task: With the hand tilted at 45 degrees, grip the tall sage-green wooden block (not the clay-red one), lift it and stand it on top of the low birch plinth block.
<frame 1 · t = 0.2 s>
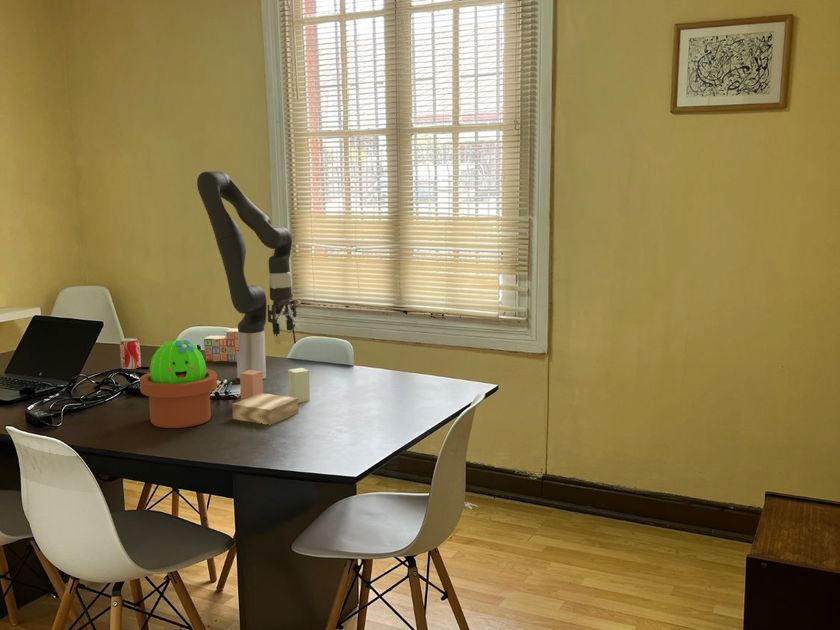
hand: (283, 332, 292), 18 cm above the table, tool pointing down, fingers open, 8 cm apart
sage-green block: (299, 400, 273), on the table
birch plinth block: (266, 417, 256), on the table
stack of blocks: (233, 360, 331), on the table
potted cactus: (181, 420, 252), on the table
soda can: (131, 371, 314), on the table
clay-red block: (252, 402, 270), on the table
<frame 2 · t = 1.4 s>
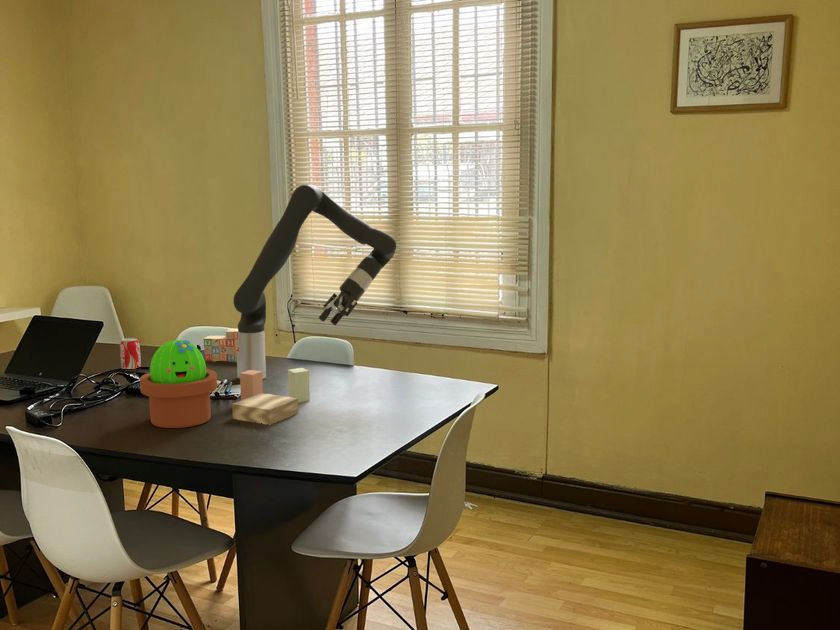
hand: (326, 321, 277), 24 cm above the table, tool tilted 45°, fingers open, 8 cm apart
nothing on the table moved.
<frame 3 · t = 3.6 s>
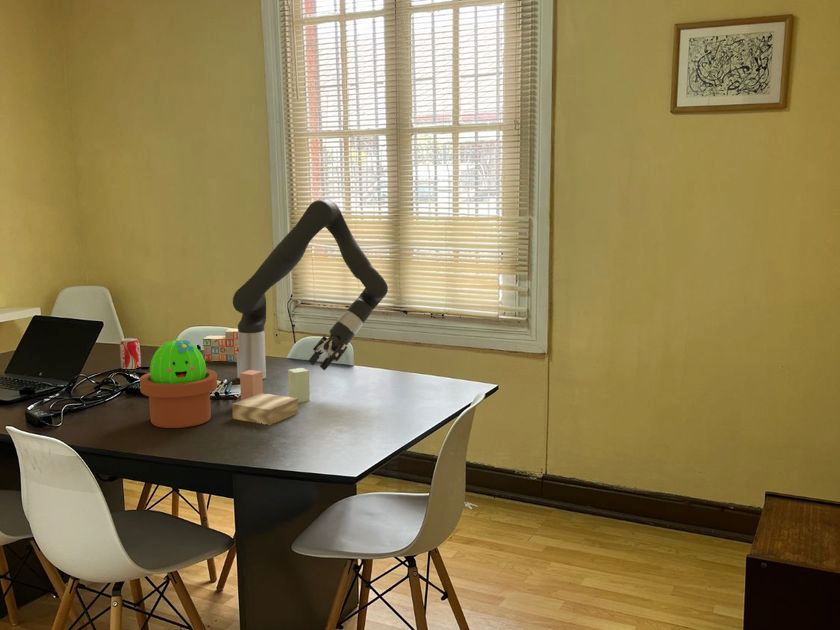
hand: (316, 365, 275), 11 cm above the table, tool tilted 45°, fingers open, 8 cm apart
nothing on the table moved.
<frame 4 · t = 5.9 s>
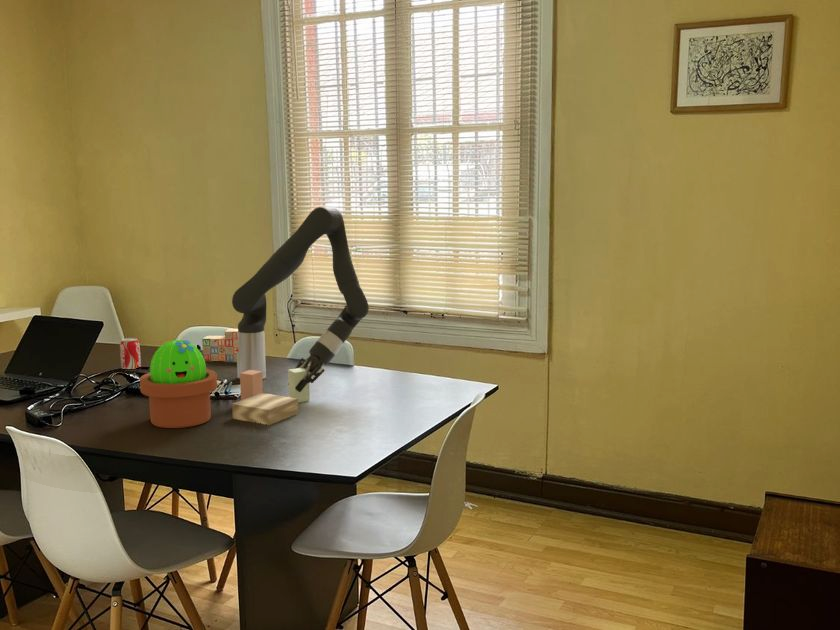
hand: (293, 388, 271), 4 cm above the table, tool tilted 45°, fingers closed on sage-green block, 5 cm apart
sage-green block: (299, 400, 273), on the table, touching gripper
everything else where it was.
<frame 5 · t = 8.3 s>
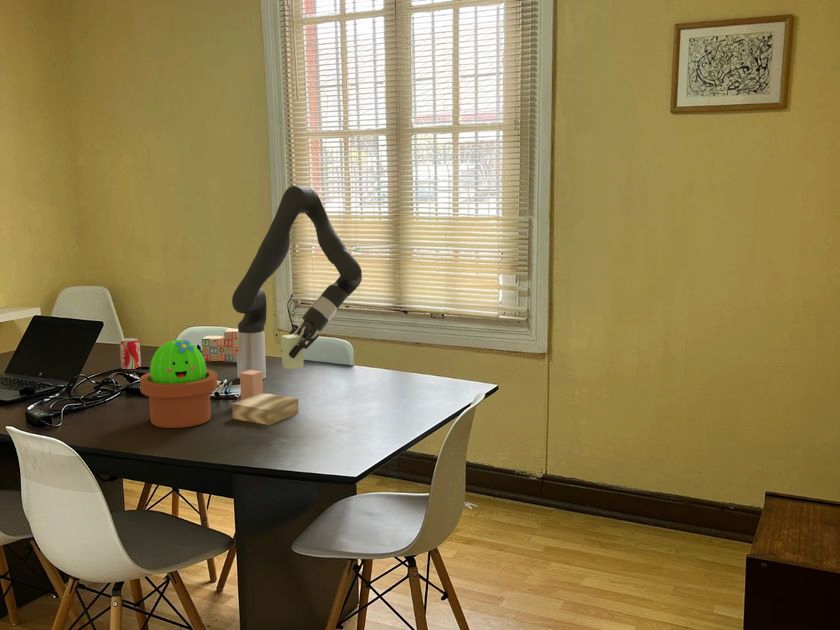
hand: (287, 354, 266), 16 cm above the table, tool tilted 45°, fingers closed on sage-green block, 5 cm apart
sage-green block: (293, 366, 267), point 12 cm above the table, touching gripper
everything else where it was.
when the fingers open (11 cm above the table, at t = 10.9 s): sage-green block drops 2 cm, point 5 cm above the table.
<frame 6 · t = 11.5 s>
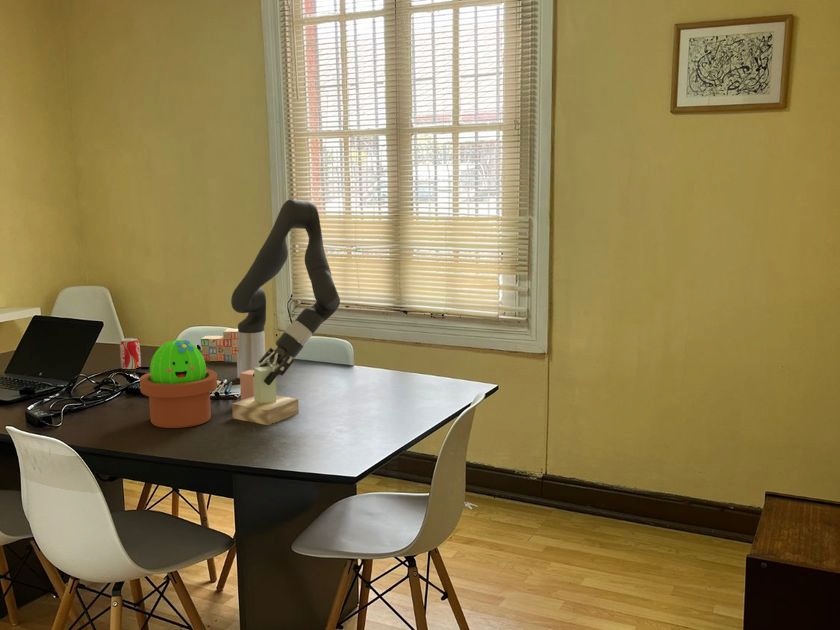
hand: (260, 380, 253), 11 cm above the table, tool tilted 45°, fingers open, 8 cm apart
sage-green block: (265, 400, 255), point 5 cm above the table
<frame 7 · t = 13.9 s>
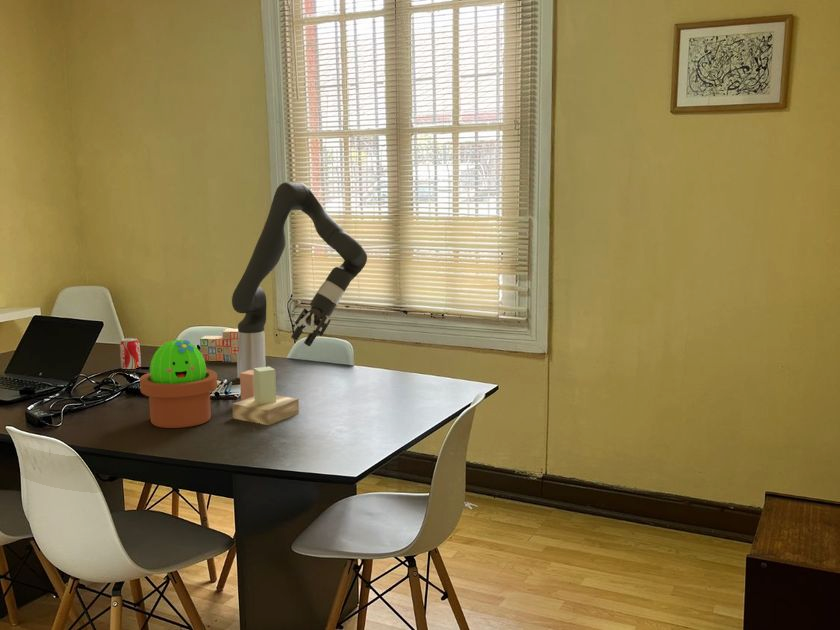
hand: (300, 342, 263), 21 cm above the table, tool tilted 35°, fingers open, 8 cm apart
sage-green block: (265, 401, 255), point 5 cm above the table, touching birch plinth block
birch plinth block: (266, 417, 256), on the table, touching sage-green block
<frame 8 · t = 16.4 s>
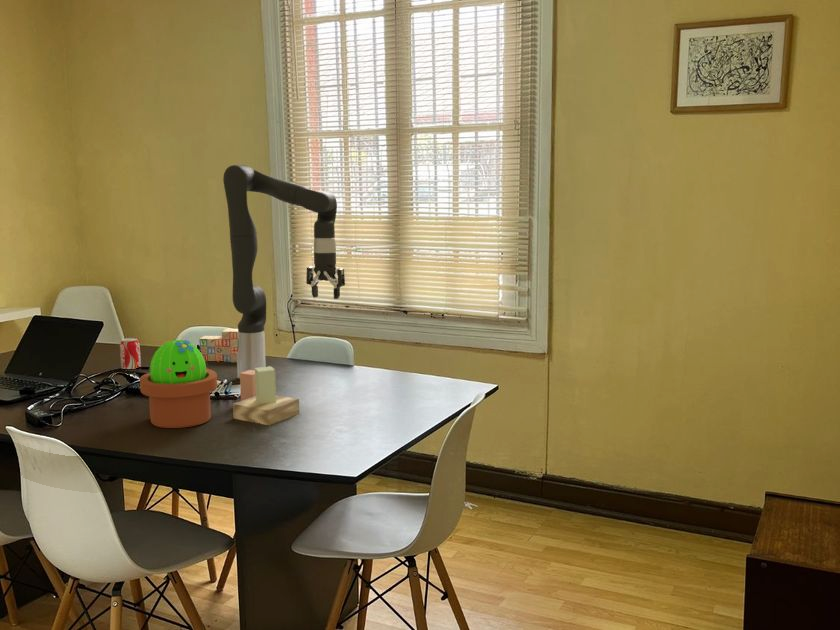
hand: (325, 297, 290), 30 cm above the table, tool pointing down, fingers open, 8 cm apart
sage-green block: (266, 400, 255), point 5 cm above the table
birch plinth block: (266, 417, 256), on the table
at the end: sage-green block 0.4 cm off-centre on the birch plinth block, point 5.1 cm above the birch plinth block's base; sage-green block tilted 1°; the gripper is holding nothing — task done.
